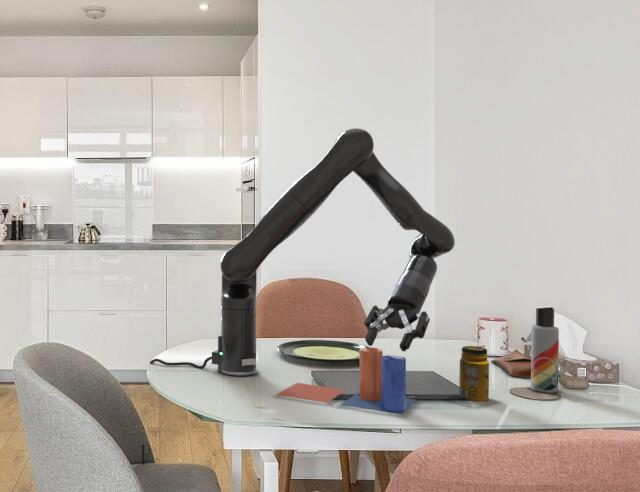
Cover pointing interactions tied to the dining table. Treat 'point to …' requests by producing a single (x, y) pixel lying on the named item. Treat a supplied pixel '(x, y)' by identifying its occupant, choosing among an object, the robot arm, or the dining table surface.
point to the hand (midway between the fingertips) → (385, 346)
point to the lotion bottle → (544, 352)
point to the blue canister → (393, 383)
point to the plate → (322, 350)
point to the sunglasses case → (515, 364)
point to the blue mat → (371, 404)
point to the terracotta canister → (370, 373)
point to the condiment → (474, 374)
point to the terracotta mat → (311, 392)
